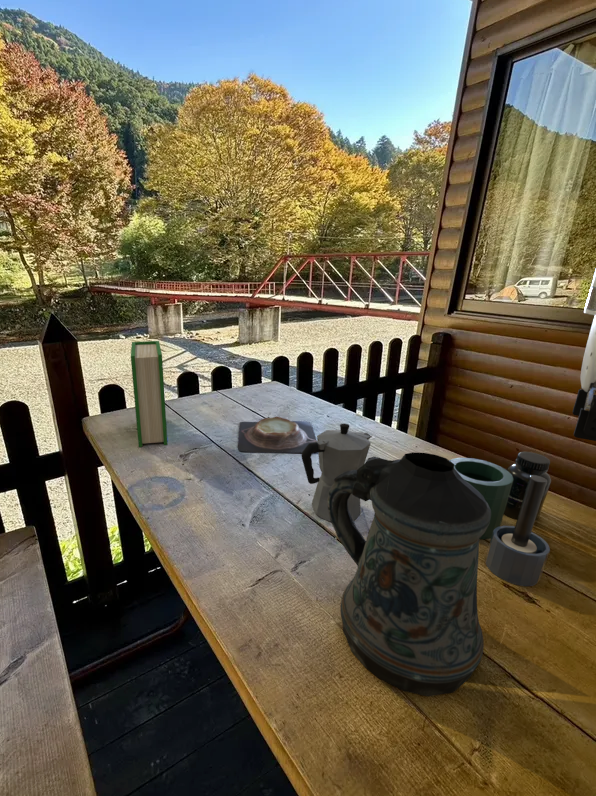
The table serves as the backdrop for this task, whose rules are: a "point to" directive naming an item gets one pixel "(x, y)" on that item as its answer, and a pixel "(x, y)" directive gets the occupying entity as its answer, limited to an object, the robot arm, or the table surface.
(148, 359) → the hardback book
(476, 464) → the jar
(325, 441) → the coffeepot
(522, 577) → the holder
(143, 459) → the table surface
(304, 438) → the quiche
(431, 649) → the beer stein
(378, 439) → the table surface
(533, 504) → the brush
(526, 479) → the supplement bottle
